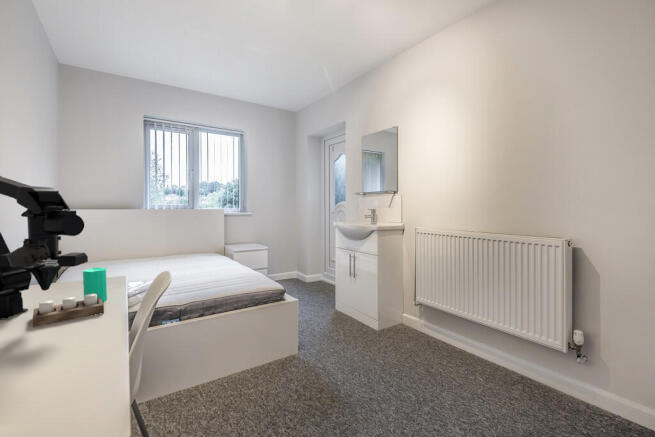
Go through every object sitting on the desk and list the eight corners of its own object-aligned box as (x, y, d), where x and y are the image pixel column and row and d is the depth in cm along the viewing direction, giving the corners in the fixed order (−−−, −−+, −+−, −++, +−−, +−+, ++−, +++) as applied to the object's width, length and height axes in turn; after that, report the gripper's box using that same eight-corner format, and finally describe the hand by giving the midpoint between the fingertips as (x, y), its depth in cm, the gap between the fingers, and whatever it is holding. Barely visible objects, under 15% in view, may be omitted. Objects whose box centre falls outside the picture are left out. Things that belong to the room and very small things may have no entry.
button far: (84, 308, 87) (84, 297, 87) (84, 305, 90) (83, 294, 89) (97, 306, 89) (97, 295, 89) (96, 303, 92) (96, 292, 91)
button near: (39, 316, 81) (38, 305, 81) (39, 313, 83) (39, 302, 83) (54, 314, 83) (53, 302, 83) (54, 310, 85) (53, 299, 85)
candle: (94, 305, 94) (93, 267, 94) (79, 303, 96) (77, 266, 95) (111, 298, 100) (110, 263, 99) (96, 297, 102) (95, 262, 101)
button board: (33, 327, 78) (32, 317, 78) (34, 317, 84) (33, 308, 84) (104, 313, 89) (103, 304, 88) (100, 305, 94) (100, 297, 94)
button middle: (63, 312, 84) (62, 301, 84) (62, 309, 86) (62, 298, 86) (76, 309, 86) (76, 299, 86) (76, 306, 88) (75, 296, 88)
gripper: (-28, 237, 72) (-24, 301, 73) (58, 239, 75) (61, 300, 76) (14, 231, 83) (17, 286, 84) (88, 232, 86) (89, 286, 87)
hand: (45, 290), depth 83 cm, fingers closed
